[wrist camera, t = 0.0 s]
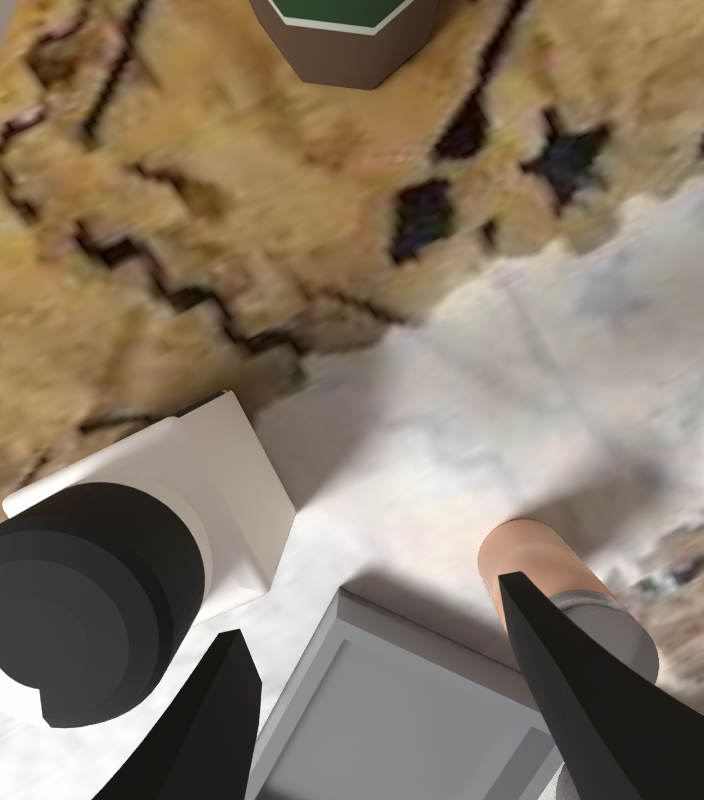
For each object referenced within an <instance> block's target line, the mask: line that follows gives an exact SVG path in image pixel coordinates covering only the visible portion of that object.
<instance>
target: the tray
mask: <svg viewBox="0 0 704 800" xmlns="http://www.w3.org/2000/svg"><path fill="white" fill-rule="evenodd" d="M563 761H564V760H563V758H562V756H561V754H560V752H559V750H558V748H557V745H556V743H555V741H554V739H553V737H552V735H551V733H550V731H549V729H548V727H547V725H546V723H545V721H544V718H543V716H542V714H541V712H540V710H539V708H538V706H537V704H536V702H535V700H534V698H533V696H532V693H531V691H530V689H529V687H528V685H527V683H526V681H525V679H524V677H523V674H522V673H519V672H517V671H515V670H513V669H511V668H509V667H507V666H505V665H503V664H500V663H498V662H496V661H494V660H492V659H490V658H488V657H486V656H484V655H481V654H479V653H477V652H475V651H473V650H471V649H469V648H467V647H465V646H462V645H460V644H458V643H456V642H454V641H452V640H450V639H448V638H445V637H443V636H441V635H439V634H437V633H435V632H433V631H431V630H429V629H426V628H424V627H422V626H420V625H418V624H416V623H414V622H412V621H410V620H407V619H405V618H403V617H401V616H399V615H397V614H395V613H393V612H391V611H388V610H386V609H384V608H382V607H380V606H378V605H376V604H374V603H372V602H369V601H367V600H365V599H363V598H361V597H359V596H357V595H355V594H352V593H350V592H348V591H346V590H344V589H342V588H340V587H339V588H338V590H337V592H336V594H335V596H334V597H333V599H332V601H331V603H330V605H329V607H328V609H327V610H326V612H325V614H324V616H323V618H322V620H321V621H320V623H319V625H318V627H317V629H316V631H315V632H314V634H313V636H312V638H311V640H310V642H309V644H308V645H307V647H306V649H305V651H304V653H303V655H302V656H301V658H300V660H299V662H298V664H297V666H296V668H295V669H294V671H293V673H292V675H291V677H290V679H289V680H288V682H287V684H286V686H285V688H284V690H283V692H282V693H281V695H280V697H279V699H278V701H277V703H276V704H275V706H274V708H273V710H272V712H271V714H270V715H269V717H268V719H267V721H266V723H265V725H264V727H263V728H262V730H261V732H260V734H259V736H258V738H257V739H256V742H255V748H254V753H253V758H252V763H251V769H250V774H249V779H248V784H247V789H246V794H245V799H244V800H537V799H538V798H539V796H540V795H541V793H542V792H543V790H544V789H545V788H546V786H547V785H548V783H549V782H550V780H551V779H552V777H553V776H554V774H555V773H556V771H557V770H558V769H559V767H560V766H561V764H562V763H563Z"/></svg>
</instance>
